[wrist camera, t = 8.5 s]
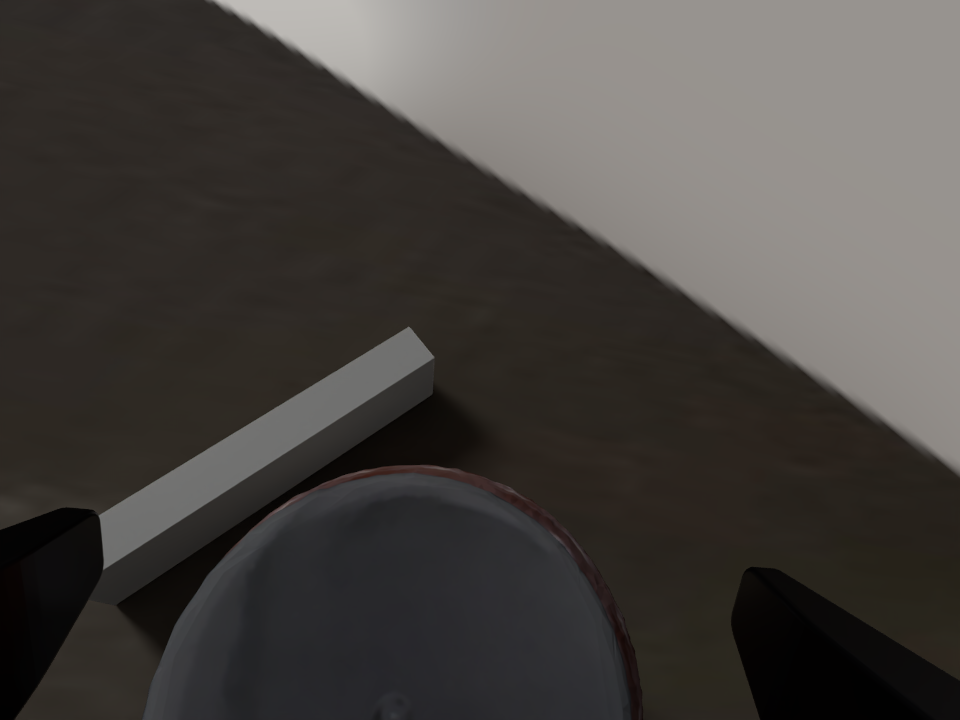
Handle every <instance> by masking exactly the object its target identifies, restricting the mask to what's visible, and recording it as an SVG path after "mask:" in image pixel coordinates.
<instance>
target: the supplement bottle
mask: <svg viewBox="0 0 960 720" xmlns="http://www.w3.org/2000/svg"><path fill="white" fill-rule="evenodd" d="M142 720H643V706H642V690H641V687H640V679H639V674H638V668H637V661H636V657H635V650H634V648H633V646H632V644H631V641H630V636H629V634H628V631H627V628H626V625H625V619H624V617H623V615H622V613H621V611H620V610H619V608H618V606H617V604H616V602H615V600H614V598H613V596H612V594H611V592H610V589H609V588H608V586H607V585H606V583H605V582H604V580H603V578H602V576H601V574H600V572H599V571H598V569H597V568H596V566H595V564H594V563H593V561H592V559H591V558H590V557H589V556H588V554H587V553H586V552H585V550H584V549H583V548H582V547H581V546H580V545H579V544H578V542H577V541H576V539H575V538H574V537H573V536H572V535H571V533H570V532H569V531H568V530H566V529H565V528H564V527H563V526H562V525H561V524H560V523H559V522H558V521H557V520H556V519H555V518H554V517H553V516H552V515H550V514H549V513H548V512H547V511H546V510H544V509H543V508H541V507H539V506H538V505H537V504H536V503H535V502H534V501H533V500H531V499H529V498H527V497H525V496H523V495H522V494H520V493H518V492H516V491H514V490H513V489H512V488H510V487H508V486H505V485H503V484H500V483H496V482H493V481H491V480H489V479H487V478H485V477H482V476H479V475H476V474H473V473H469V472H465V471H462V470H459V469H457V468H444V467H439V466H435V465H397V466H386V467H380V468H374V469H365V470H362V471H358V472H355V473H351V474H346V475H343V476H341V477H338V478H336V479H333V480H330V481H327V482H325V483H323V484H321V485H319V486H317V487H315V488H313V489H311V490H309V491H307V492H304V493H301V494H299V495H297V496H295V497H293V498H291V499H290V500H289V501H287V502H286V503H285V504H283V505H282V506H280V507H279V508H277V509H276V510H274V511H273V512H271V513H270V514H269V515H267V516H266V517H265V518H264V519H263V520H262V521H260V522H259V523H258V524H257V525H256V526H255V527H253V528H252V529H251V530H250V531H249V532H248V533H247V534H246V535H245V536H244V537H243V538H242V539H241V540H240V541H239V542H238V543H237V544H236V545H235V546H234V547H233V548H232V549H230V550H229V551H228V553H227V554H226V555H225V556H224V557H223V558H222V560H221V561H220V562H219V563H218V564H217V565H216V567H215V568H214V569H213V570H212V571H211V572H210V573H209V574H208V575H207V576H206V578H205V580H204V581H203V583H202V585H201V586H200V588H199V590H198V591H197V593H196V594H195V595H194V597H193V598H192V600H191V601H190V602H189V604H188V605H187V607H186V608H185V609H184V611H183V613H182V614H181V616H180V618H179V619H178V621H177V623H176V624H175V626H174V628H173V631H172V634H171V636H170V639H169V641H168V644H167V646H166V649H165V651H164V653H163V656H162V658H161V661H160V663H159V666H158V668H157V671H156V673H155V675H154V678H153V680H152V682H151V685H150V687H149V692H148V698H147V703H146V706H145V710H144V713H143V718H142Z"/></svg>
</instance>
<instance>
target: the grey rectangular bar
mask: <svg viewBox="0 0 960 720" xmlns="http://www.w3.org/2000/svg"><path fill="white" fill-rule="evenodd" d="M433 379H434V356H433V355H432V354H431V353H430V352H429V350H428V349H427V348H426V347H425V345H424V344H423V343H422V342H421V341H420V339H419V338H418V337H417V336H416V334H415V333H414V332H413V331H412V330H411V328H410V327H408V328H406V329H405V330H403V331H401V332H400V333H398V334H396V335H395V336H393V337H392V338H390V339H388V340H387V341H385V342H383V343H382V344H380V345H378V346H377V347H375V348H373V349H372V350H370V351H369V352H367V353H365V354H364V355H362V356H360V357H359V358H357V359H355V360H354V361H352V362H350V363H349V364H347V365H346V366H344V367H342V368H341V369H339V370H337V371H336V372H334V373H332V374H331V375H329V376H327V377H326V378H324V379H323V380H321V381H319V382H318V383H316V384H314V385H313V386H311V387H309V388H308V389H306V390H304V391H303V392H301V393H299V394H298V395H296V396H295V397H293V398H291V399H290V400H288V401H286V402H285V403H283V404H281V405H280V406H278V407H276V408H275V409H273V410H272V411H270V412H268V413H267V414H265V415H263V416H262V417H260V418H258V419H257V420H255V421H253V422H252V423H250V424H249V425H247V426H245V427H244V428H242V429H240V430H239V431H237V432H235V433H234V434H232V435H230V436H229V437H227V438H226V439H224V440H222V441H221V442H219V443H217V444H216V445H214V446H212V447H211V448H209V449H207V450H206V451H204V452H203V453H201V454H199V455H198V456H196V457H194V458H193V459H191V460H189V461H188V462H186V463H184V464H183V465H181V466H179V467H178V468H176V469H175V470H173V471H171V472H170V473H168V474H166V475H165V476H163V477H161V478H160V479H158V480H156V481H155V482H153V483H152V484H150V485H148V486H147V487H145V488H143V489H142V490H140V491H138V492H137V493H135V494H133V495H132V496H130V497H129V498H127V499H125V500H124V501H122V502H120V503H119V504H117V505H115V506H114V507H112V508H110V509H109V510H107V511H106V512H104V513H102V514H101V515H99V517H100V522H101V533H102V544H103V556H104V566H103V571H102V575H101V577H100V580H99V582H98V584H97V585H96V587H95V589H94V591H93V592H92V594H91V596H90V598H89V599H88V600H92V601H97V602H101V603H106V604H111V605H117V604H118V603H120V602H121V601H123V600H124V599H126V598H127V597H129V596H130V595H132V594H133V593H135V592H136V591H138V590H139V589H141V588H142V587H144V586H145V585H147V584H148V583H150V582H151V581H153V580H154V579H156V578H157V577H159V576H160V575H162V574H163V573H165V572H166V571H168V570H169V569H171V568H172V567H174V566H175V565H177V564H178V563H180V562H181V561H183V560H184V559H186V558H187V557H189V556H190V555H192V554H193V553H195V552H196V551H198V550H199V549H201V548H202V547H204V546H205V545H207V544H208V543H210V542H211V541H213V540H214V539H216V538H217V537H219V536H220V535H222V534H223V533H225V532H226V531H228V530H229V529H231V528H232V527H234V526H235V525H237V524H238V523H240V522H241V521H243V520H244V519H246V518H247V517H249V516H250V515H252V514H253V513H255V512H256V511H258V510H259V509H261V508H263V507H264V506H266V505H267V504H269V503H270V502H272V501H273V500H275V499H276V498H278V497H279V496H281V495H282V494H284V493H285V492H287V491H288V490H290V489H291V488H293V487H294V486H296V485H297V484H299V483H300V482H302V481H303V480H305V479H306V478H308V477H309V476H311V475H312V474H314V473H315V472H317V471H318V470H320V469H321V468H323V467H324V466H326V465H327V464H329V463H330V462H332V461H333V460H335V459H336V458H338V457H339V456H341V455H342V454H344V453H345V452H347V451H348V450H350V449H351V448H353V447H354V446H356V445H357V444H359V443H360V442H362V441H363V440H365V439H366V438H368V437H369V436H371V435H372V434H374V433H375V432H377V431H378V430H380V429H381V428H383V427H384V426H386V425H387V424H389V423H390V422H392V421H393V420H395V419H396V418H398V417H399V416H401V415H402V414H404V413H405V412H407V411H408V410H410V409H411V408H413V407H414V406H416V405H417V404H419V403H420V402H422V401H423V400H425V399H426V398H428V397H429V396H431V395H432V394H433Z"/></svg>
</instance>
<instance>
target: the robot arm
mask: <svg viewBox="0 0 960 720" xmlns="http://www.w3.org/2000/svg"><path fill="white" fill-rule="evenodd" d="M103 566H104V556H103V544H102V533H101V522H100V517H99V515H98V514H97V513H96V512H95V511H94V510H90V509H79V508H67V507H66V508H60V509H57V510H54V511H52V512H49V513H46V514H43V515H41V516H38V517H35V518H32V519H30V520H27V521H24V522H21V523H19V524H16V525H13V526H10V527H7V528H5V529H2V530H0V720H14V719H15V718H16V717H17V715H18V714H19V712H20V711H21V710H22V708H23V707H24V705H25V704H26V702H27V701H28V700H29V698H30V697H31V695H32V694H33V692H34V691H35V689H36V688H37V686H38V685H39V683H40V681H41V680H42V678H43V677H44V675H45V673H46V672H47V670H48V669H49V667H50V665H51V663H52V662H53V660H54V658H55V656H56V655H57V653H58V651H59V649H60V648H61V646H62V644H63V643H64V641H65V639H66V637H67V636H68V634H69V632H70V630H71V629H72V627H73V625H74V624H75V622H76V620H77V618H78V617H79V615H80V613H81V611H82V610H83V608H84V606H85V604H86V603H87V601H88V599H89V598H90V596H91V594H92V592H93V591H94V589H95V587H96V585H97V584H98V582H99V580H100V577H101V575H102V571H103ZM731 626H732V632H733V635H734V639H735V642H736V645H737V648H738V651H739V654H740V657H741V661H742V664H743V667H744V670H745V673H746V676H747V680H748V683H749V686H750V689H751V692H752V695H753V699H754V702H755V705H756V708H757V711H758V714H759V718H760V720H960V681H959V680H958V679H956V678H954V677H953V676H951V675H949V674H948V673H946V672H945V671H943V670H941V669H940V668H938V667H936V666H935V665H933V664H931V663H930V662H928V661H927V660H925V659H923V658H922V657H920V656H918V655H917V654H915V653H914V652H912V651H910V650H909V649H907V648H905V647H904V646H902V645H901V644H899V643H897V642H896V641H894V640H892V639H891V638H889V637H888V636H886V635H884V634H883V633H881V632H879V631H878V630H876V629H874V628H873V627H871V626H870V625H868V624H866V623H865V622H863V621H861V620H860V619H858V618H857V617H855V616H853V615H852V614H850V613H848V612H847V611H845V610H844V609H842V608H840V607H839V606H837V605H835V604H834V603H832V602H831V601H829V600H827V599H826V598H824V597H822V596H821V595H819V594H817V593H816V592H814V591H813V590H811V589H809V588H808V587H806V586H804V585H803V584H801V583H800V582H798V581H796V580H795V579H793V578H791V577H790V576H788V575H787V574H785V573H783V572H782V571H780V570H777V569H773V568H761V567H750V568H748V569H746V571H745V572H744V574H743V576H742V579H741V583H740V586H739V590H738V593H737V597H736V600H735V604H734V607H733V611H732V616H731Z"/></svg>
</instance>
